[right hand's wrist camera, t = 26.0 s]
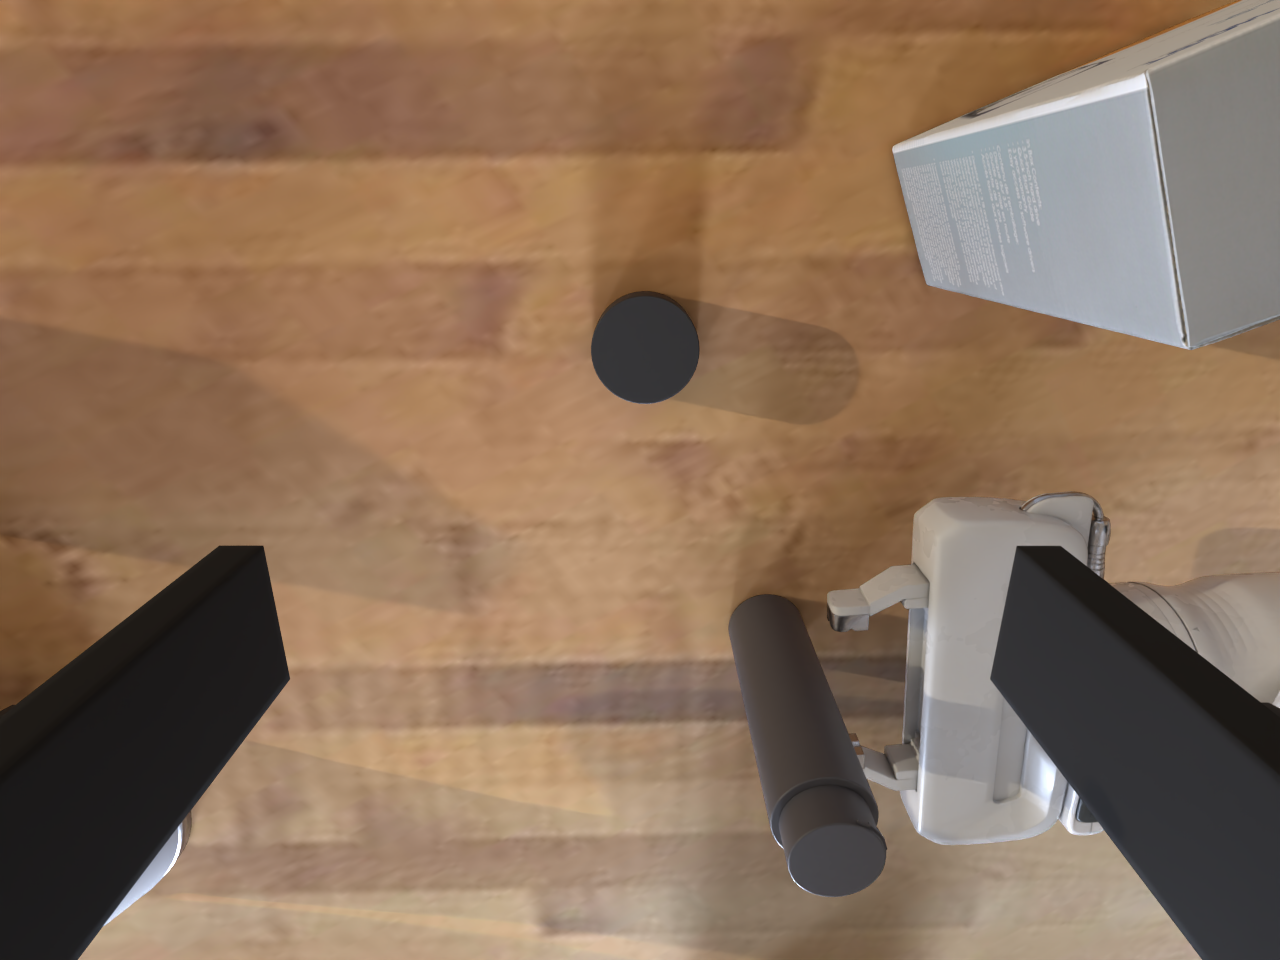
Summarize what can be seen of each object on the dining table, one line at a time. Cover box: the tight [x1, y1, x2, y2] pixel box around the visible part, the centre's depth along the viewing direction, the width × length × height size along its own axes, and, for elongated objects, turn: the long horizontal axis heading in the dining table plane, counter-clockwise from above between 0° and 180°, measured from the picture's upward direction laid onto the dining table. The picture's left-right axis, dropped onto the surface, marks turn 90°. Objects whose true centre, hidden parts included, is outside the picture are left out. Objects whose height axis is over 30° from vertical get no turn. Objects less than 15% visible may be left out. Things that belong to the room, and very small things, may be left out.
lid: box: [591, 291, 699, 404], centre depth 38 cm, size 6×6×2 cm
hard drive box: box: [892, 0, 1280, 350], centre depth 26 cm, size 16×8×20 cm, turn 112°
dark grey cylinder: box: [729, 594, 887, 897], centre depth 37 cm, size 5×5×18 cm
